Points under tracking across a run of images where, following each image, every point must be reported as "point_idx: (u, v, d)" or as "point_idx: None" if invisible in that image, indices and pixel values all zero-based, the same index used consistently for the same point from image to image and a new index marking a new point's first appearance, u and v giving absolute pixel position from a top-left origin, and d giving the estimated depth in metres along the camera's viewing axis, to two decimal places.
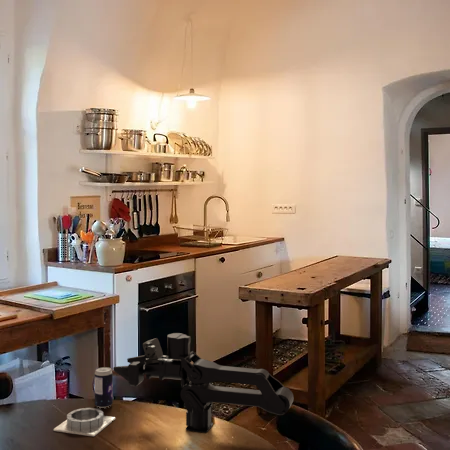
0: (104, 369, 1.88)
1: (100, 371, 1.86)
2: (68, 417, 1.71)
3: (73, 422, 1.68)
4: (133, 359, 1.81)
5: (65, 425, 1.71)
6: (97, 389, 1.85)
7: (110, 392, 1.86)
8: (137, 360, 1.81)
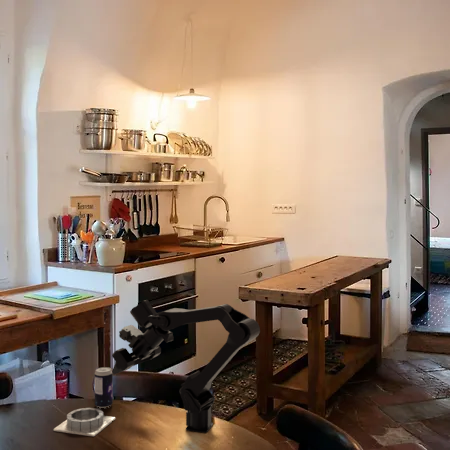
0: (104, 369, 1.88)
1: (100, 371, 1.86)
2: (68, 417, 1.71)
3: (73, 422, 1.68)
4: (134, 360, 1.87)
5: (65, 425, 1.71)
6: (97, 389, 1.85)
7: (110, 392, 1.86)
8: (137, 358, 1.86)
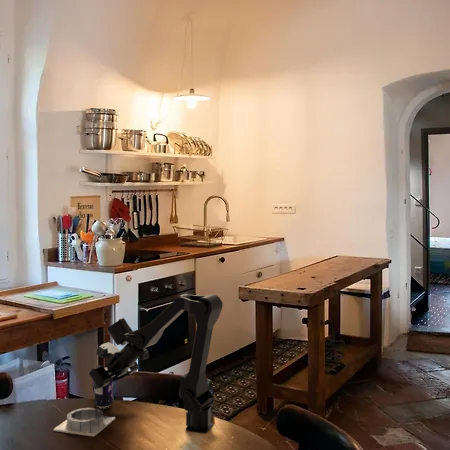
0: None
1: None
2: (68, 417, 1.71)
3: (73, 422, 1.68)
4: None
5: (65, 425, 1.71)
6: (97, 389, 1.85)
7: (110, 392, 1.86)
8: None
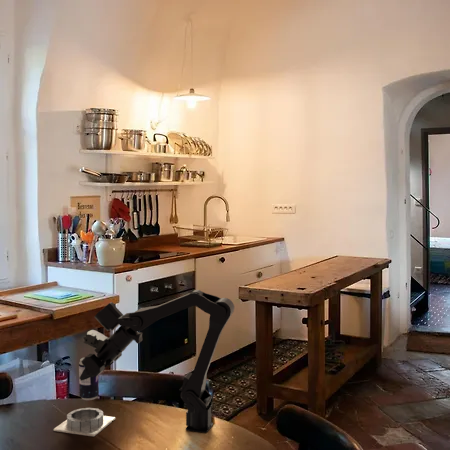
0: None
1: None
2: (68, 417, 1.71)
3: (73, 422, 1.68)
4: None
5: (65, 425, 1.71)
6: (84, 380, 1.74)
7: (97, 382, 1.76)
8: None
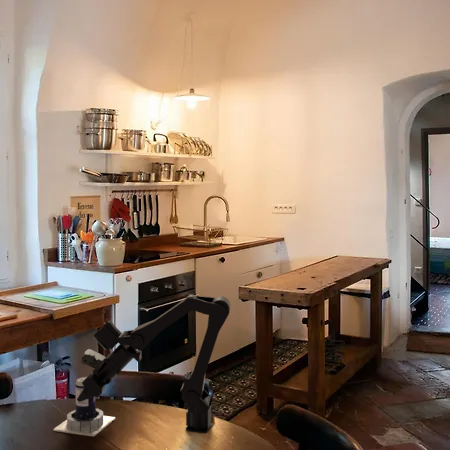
0: None
1: None
2: (68, 417, 1.71)
3: (73, 422, 1.68)
4: None
5: (65, 425, 1.71)
6: (82, 401, 1.70)
7: (95, 402, 1.72)
8: None
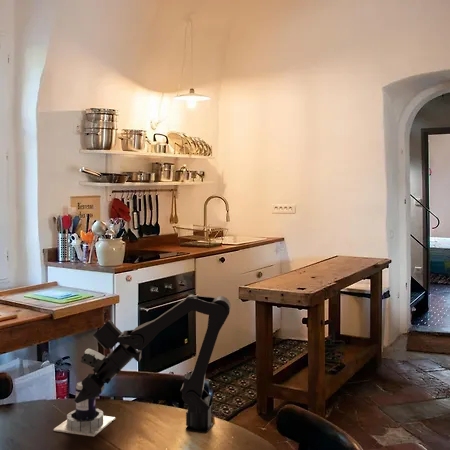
0: None
1: None
2: (68, 417, 1.71)
3: (73, 422, 1.68)
4: None
5: (65, 425, 1.71)
6: (82, 405, 1.70)
7: (95, 406, 1.72)
8: None
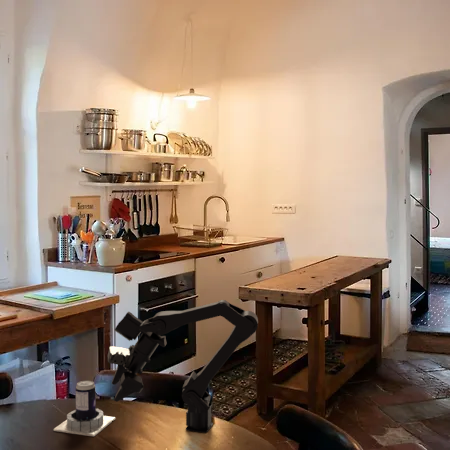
0: (85, 383, 1.73)
1: (84, 385, 1.71)
2: (68, 417, 1.71)
3: (73, 422, 1.68)
4: (115, 378, 1.76)
5: (65, 425, 1.71)
6: (82, 405, 1.70)
7: (95, 406, 1.72)
8: (118, 374, 1.76)
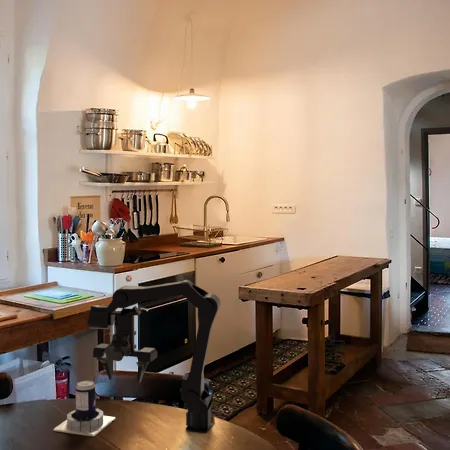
0: (85, 383, 1.73)
1: (84, 385, 1.71)
2: (68, 417, 1.71)
3: (73, 422, 1.68)
4: (110, 373, 1.74)
5: (65, 425, 1.71)
6: (82, 405, 1.70)
7: (95, 406, 1.72)
8: (110, 368, 1.74)
